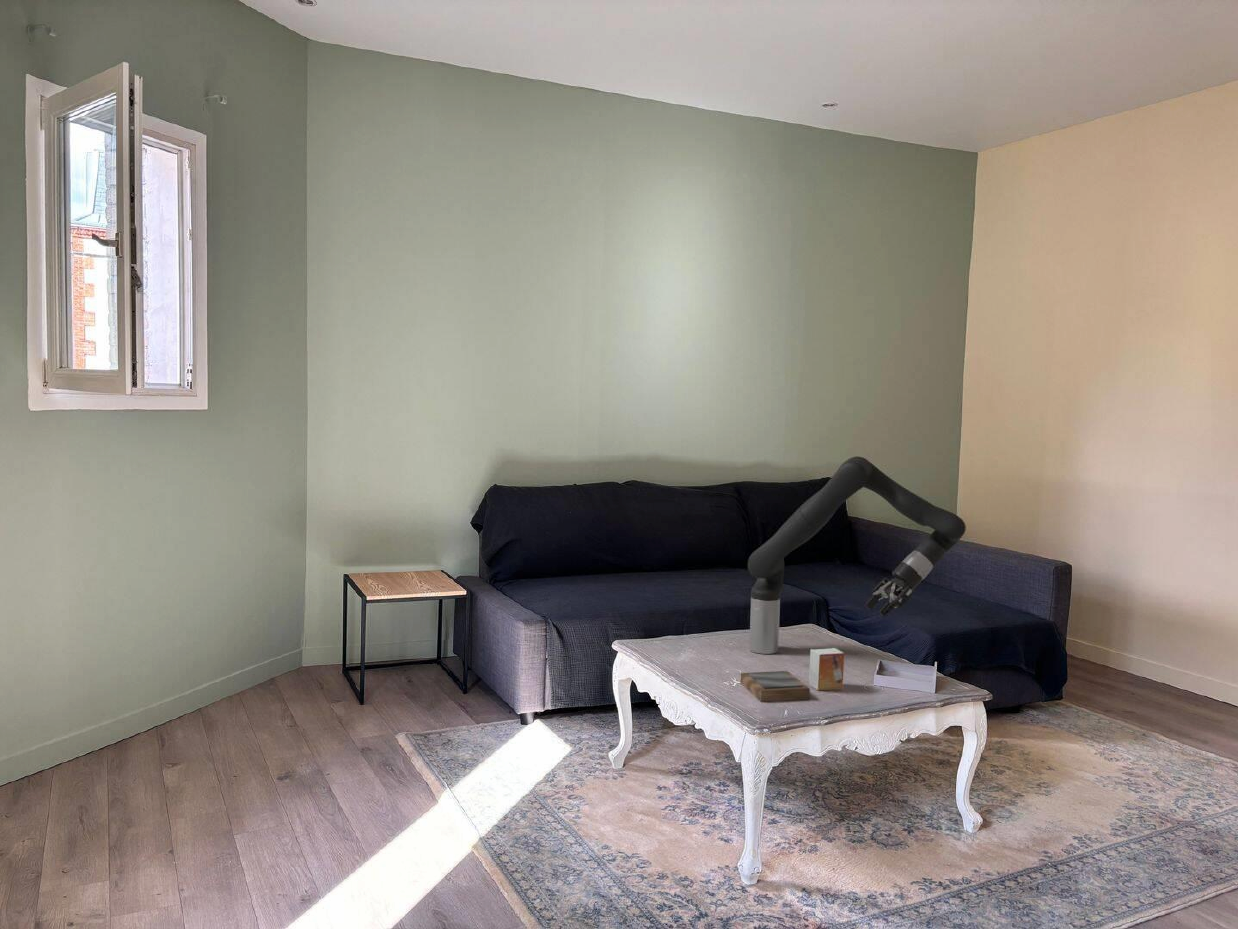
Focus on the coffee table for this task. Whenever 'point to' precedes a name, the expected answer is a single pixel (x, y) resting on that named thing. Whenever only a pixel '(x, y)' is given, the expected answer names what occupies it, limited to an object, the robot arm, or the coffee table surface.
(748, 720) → the coffee table surface
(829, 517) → the robot arm
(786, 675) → the plinth
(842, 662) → the small box
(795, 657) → the coffee table surface
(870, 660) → the coffee table surface
